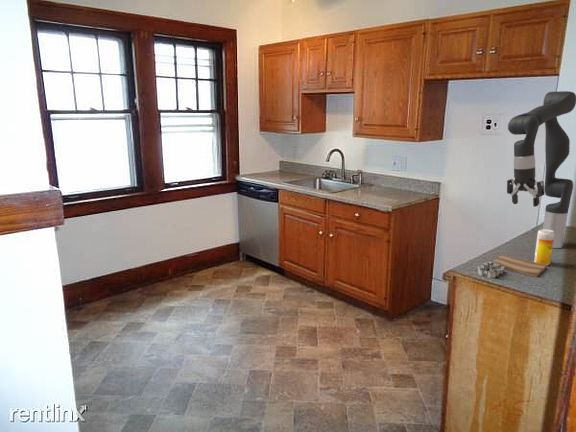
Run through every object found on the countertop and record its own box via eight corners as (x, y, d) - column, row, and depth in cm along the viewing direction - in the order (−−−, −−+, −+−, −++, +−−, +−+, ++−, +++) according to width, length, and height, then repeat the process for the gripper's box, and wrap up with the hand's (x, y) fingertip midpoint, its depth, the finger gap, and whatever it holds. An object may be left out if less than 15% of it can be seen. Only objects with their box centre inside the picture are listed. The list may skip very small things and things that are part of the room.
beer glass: (552, 266, 176) (557, 233, 172) (536, 265, 177) (541, 232, 173) (546, 261, 181) (551, 229, 178) (531, 260, 182) (536, 228, 179)
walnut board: (501, 258, 186) (501, 255, 186) (546, 268, 174) (546, 265, 173) (490, 265, 178) (490, 262, 177) (536, 277, 165) (536, 273, 165)
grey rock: (492, 279, 164) (493, 270, 163) (474, 274, 170) (475, 265, 169) (505, 273, 170) (506, 264, 169) (488, 268, 176) (489, 259, 175)
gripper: (548, 165, 161) (548, 204, 165) (513, 163, 173) (514, 200, 177) (536, 169, 157) (537, 209, 161) (502, 167, 170) (503, 205, 174)
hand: (525, 204), depth 169 cm, fingers open, 8 cm apart
